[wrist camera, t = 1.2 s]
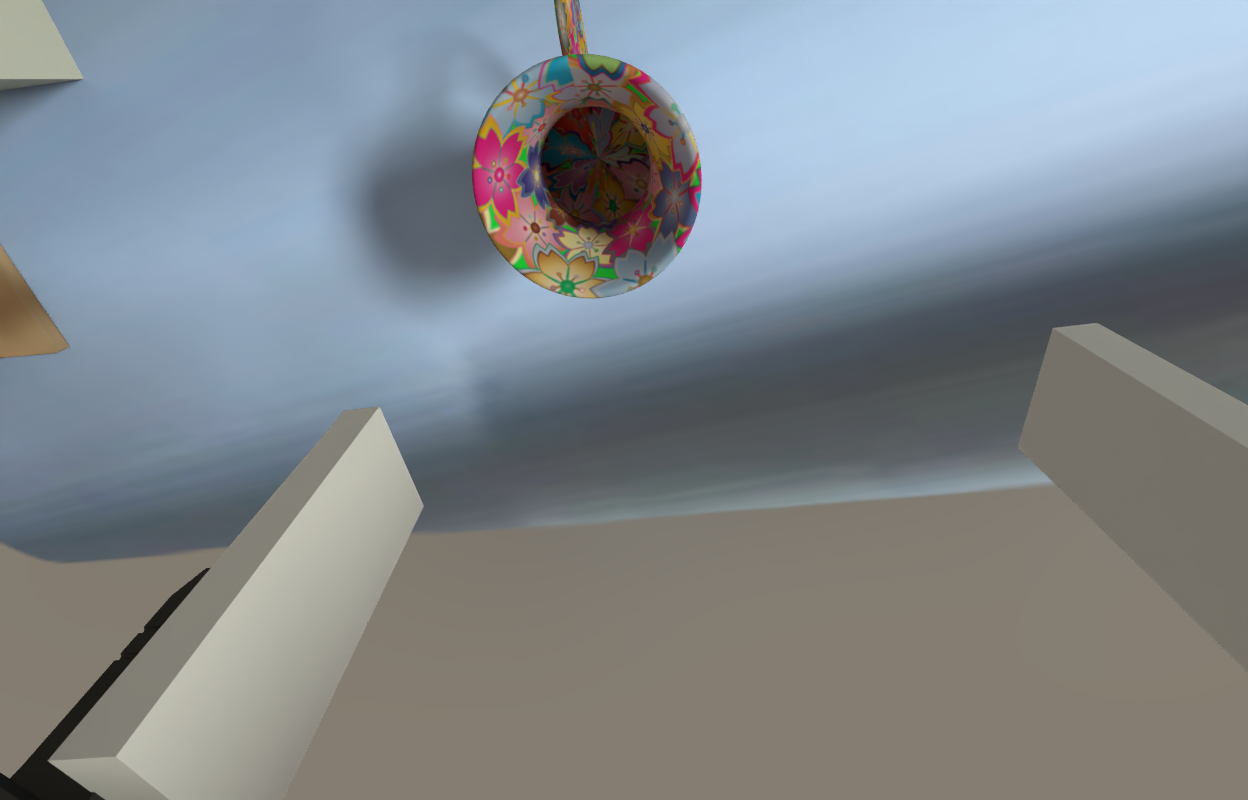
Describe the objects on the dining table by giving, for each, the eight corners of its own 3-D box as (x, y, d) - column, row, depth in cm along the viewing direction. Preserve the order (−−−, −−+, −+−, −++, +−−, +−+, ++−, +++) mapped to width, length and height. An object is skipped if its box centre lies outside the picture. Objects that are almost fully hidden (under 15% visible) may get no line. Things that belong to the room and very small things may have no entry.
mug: (685, 230, 33) (706, 287, 24) (535, 247, 34) (500, 310, 24) (671, -14, 27) (692, -62, 18) (489, 12, 27) (419, -21, 18)
